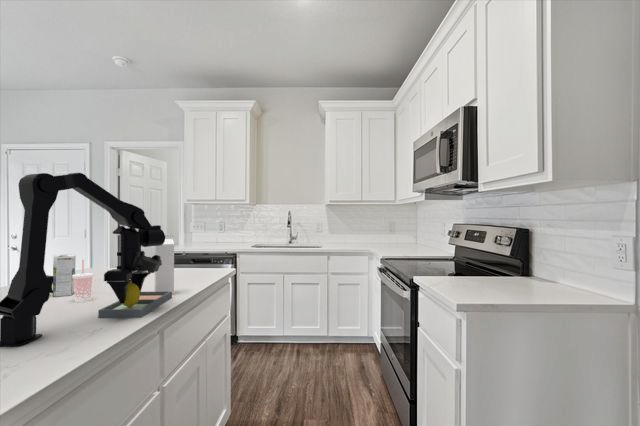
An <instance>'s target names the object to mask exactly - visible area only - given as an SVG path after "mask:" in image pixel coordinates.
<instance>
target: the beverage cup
mask: <svg viewBox="0 0 640 426" xmlns="http://www.w3.org/2000/svg"><path fill="white" fill-rule="evenodd" d="M84 265H85V260H84V259H82V261H81V270H82V271H81V273H75V274H74V275H72V278H73V283H74V293H73V294H74V295H73V297H74V302H75V303H85V302H89V301H92V300H91V299H92V290H93V289H92V286H93V285H92V284H93V277H94V273H92V272H85V267H84Z"/></svg>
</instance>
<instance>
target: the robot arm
mask: <svg viewBox="0 0 640 426" xmlns="http://www.w3.org/2000/svg"><path fill="white" fill-rule="evenodd" d="M71 189H72V190H74V191H75V192H76V193H78V194H80V195H82V196H83V197H84V198H87V199H88V200H89V201H91V202H93V204H96V205H98V206H99V207H101V208H102V209H104V210H105V211H107V213H109V215H110V216H111V218H112V219H113V220H114V221H115V222H116V223H117V224H119V226H117V227H116V229H114V230H112V234H113V235H119V251H118V252H116V256H117V257H119V265H117V266H116V268H115V269H114V268H113V269H110V270H107V271H105V273H104V274H103V282H106V284H108V285H109V286H110V288H111V289H112V291H113V292H114V294H115V296H116V297H117V301H120V303H125V299H126V292H127V285H128V284H129V283H130V282H131V283H134V284H136V285H137V286H138V288H139V291H140V292H142V289H143V286H144V282H145V280H146V278H147V277H148V276H149V275H151V274H155V272H156V271H158V269H159V266H161V265H162V263H161V262H162V261H161V258H160V256H158V255H155V254H154V255H153V256H146V255H145V253H146V252H145V251H144V250H142V248H143V247H144V248H149V247H150V248H151V247H155V246H160V245H162V244H163V243H164V242H165V235H166V234H165V232H164V231H163V230H162V226H161V225H157V224H155V225H152V224H151V223H150V222H149V220H148V219H147V217H146V215H145V214H146V213H145V211H144V210H143V209H142V208H141V207H139V206H136V205H134V204H132V203H129V202H125V201H123V200H121V199H119V198H118V197H116V196H115V195H113V194H112V193H110V192H109V191H107V190H106V189H104V188H103V187H102V186H100V185H99V184H97V183H96V182H95V181H93V180H91V179H90V178H88V176H87V175H86V174H85V173H82V172H71V173H67V174H62V175H61V174H60V175H52V174H50V173H46V172H45V173H43V172H41V173H32V174H31V173H30V174H25V175H24V176H22V177H21V178H20V179H19V182H18V193H19V199H20V202H21V205H22V206H23V209H24V213H23V222H22V223H23V224H22V235H21V245H20V254H19V266H18V268H17V269H18V270H17V271H16V273H15V274H14V276H13V278H12V279H11V282H10V285H9V288H8V291H7V294H6V295H5V296H4V297H3V298H2V299H1V300H0V316H2V317H1V318H0V347H4V346H5V347H8V346H9V347H11V346H13V347H14V346H24V345H26V344H28V343H30V342H32V341H34V340H36V339H39V338H41V337H43V334H42V333H37V316H40V314H41V311H42V309H43V306H44V305H45V303H47V302H48V301H49V299H50V296H51V294H53V280H54V277H53V275H47V273H46V271H45V260H46V258H45V257H46V247H47V239H48V237H47V236H48V226H49V214H50V210H51V209H52V207H53V205H54V204H55V202H56V200H57V197H58V194H59V192H60V191H66V190H71ZM127 227H128V228H127Z"/></svg>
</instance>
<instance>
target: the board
mask: <svg viewBox="0 0 640 426" xmlns="http://www.w3.org/2000/svg"><path fill="white" fill-rule="evenodd" d="M172 298H173V295H172V291H162V292H155V291H141V292H140V298H139V301H138V302H137V303H136V304H135V305H133V306H132V307H131V308H128V307H127V306H124V305H123V304H122V303H120V301H119V300H117V301H115V302H113V303H111V304H109V305H107V306H105V307H102V308H100V309H98V312H97V313H98V314H97V316H98V319H116V318H117V319H120V318H121V319H122V318H123V319H125V318H126V319H129V318H143V317H145V316H147V314H149V313H150V312H152V311H153V310H155V309H156V308H159V306H161V305H163V304H164V303H166V302H167V301H169V300H170V299H172Z"/></svg>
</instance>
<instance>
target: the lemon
mask: <svg viewBox="0 0 640 426" xmlns="http://www.w3.org/2000/svg"><path fill="white" fill-rule="evenodd" d="M139 298H140V291H139V288H138V286H137V285H136V284H134V283H131V282H130V283H129V284H128V285H127V292H126V299H125V303H122V304H123V305H124V306H127V307H128V308H131V307H132V306H133V305H135V304H136V303H137V302H138V301H139Z"/></svg>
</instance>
